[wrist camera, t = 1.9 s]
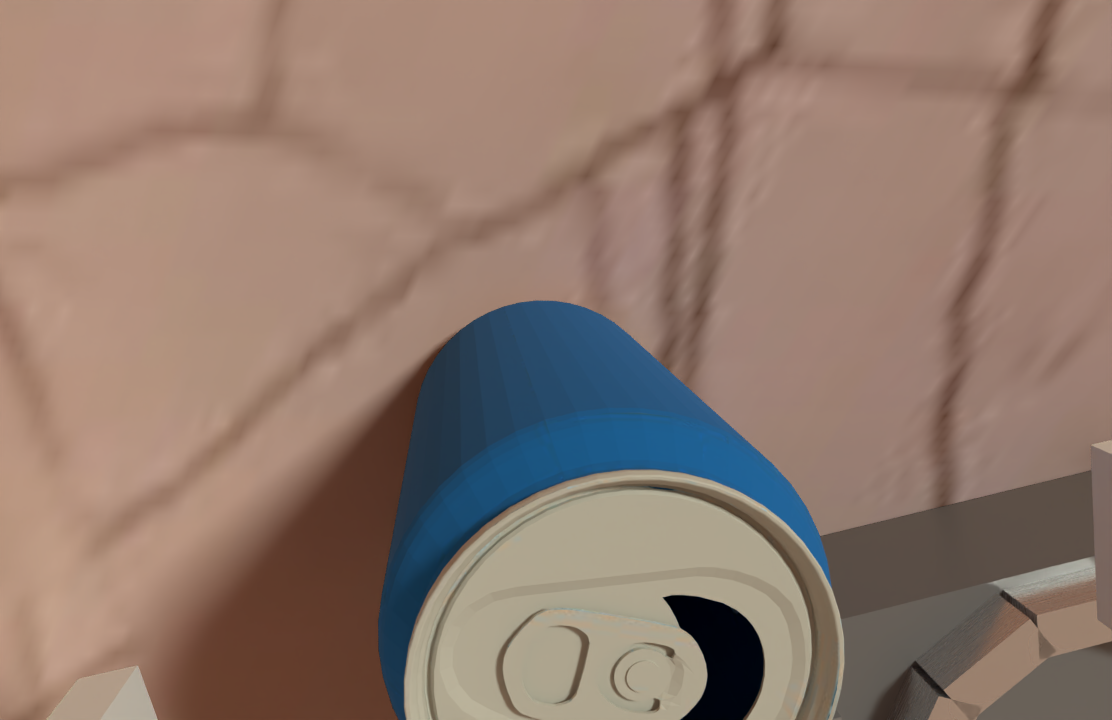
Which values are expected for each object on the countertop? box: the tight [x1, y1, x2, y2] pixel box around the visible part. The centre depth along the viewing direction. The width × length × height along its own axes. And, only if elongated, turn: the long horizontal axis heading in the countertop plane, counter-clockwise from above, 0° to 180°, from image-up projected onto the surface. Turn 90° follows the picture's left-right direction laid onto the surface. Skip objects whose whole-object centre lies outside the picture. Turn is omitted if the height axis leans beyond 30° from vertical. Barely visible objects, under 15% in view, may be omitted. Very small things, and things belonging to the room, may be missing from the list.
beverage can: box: [378, 301, 844, 720], centre depth 16 cm, size 6×6×12 cm
